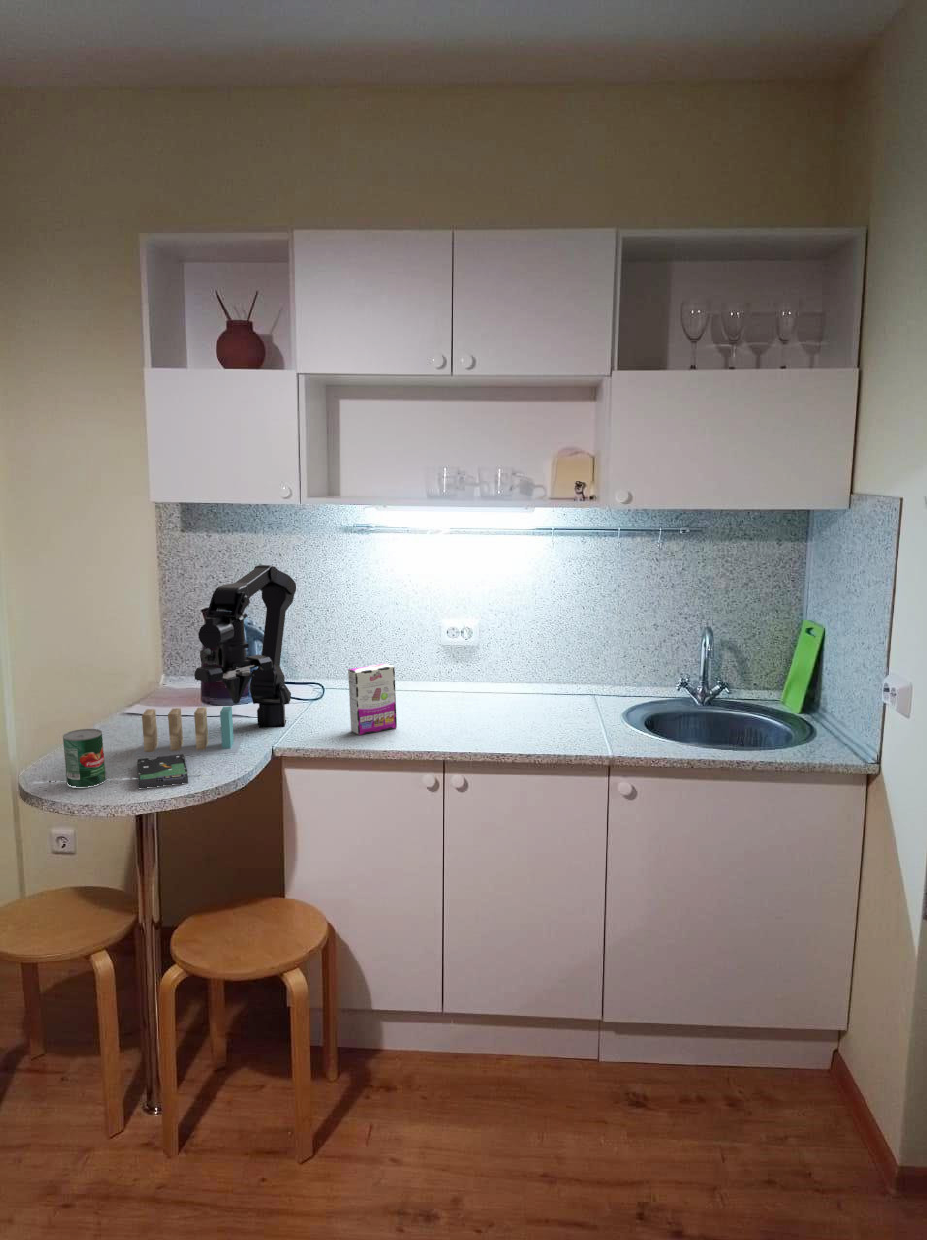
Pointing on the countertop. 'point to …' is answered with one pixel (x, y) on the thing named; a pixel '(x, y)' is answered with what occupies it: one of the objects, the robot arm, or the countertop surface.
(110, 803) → the countertop surface
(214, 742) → the slate mat
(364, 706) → the candy bar box
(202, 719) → the maple tile
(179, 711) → the maple tile
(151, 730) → the maple tile
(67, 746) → the canned tomato
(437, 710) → the countertop surface
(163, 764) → the disk drive
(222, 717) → the teal tile
